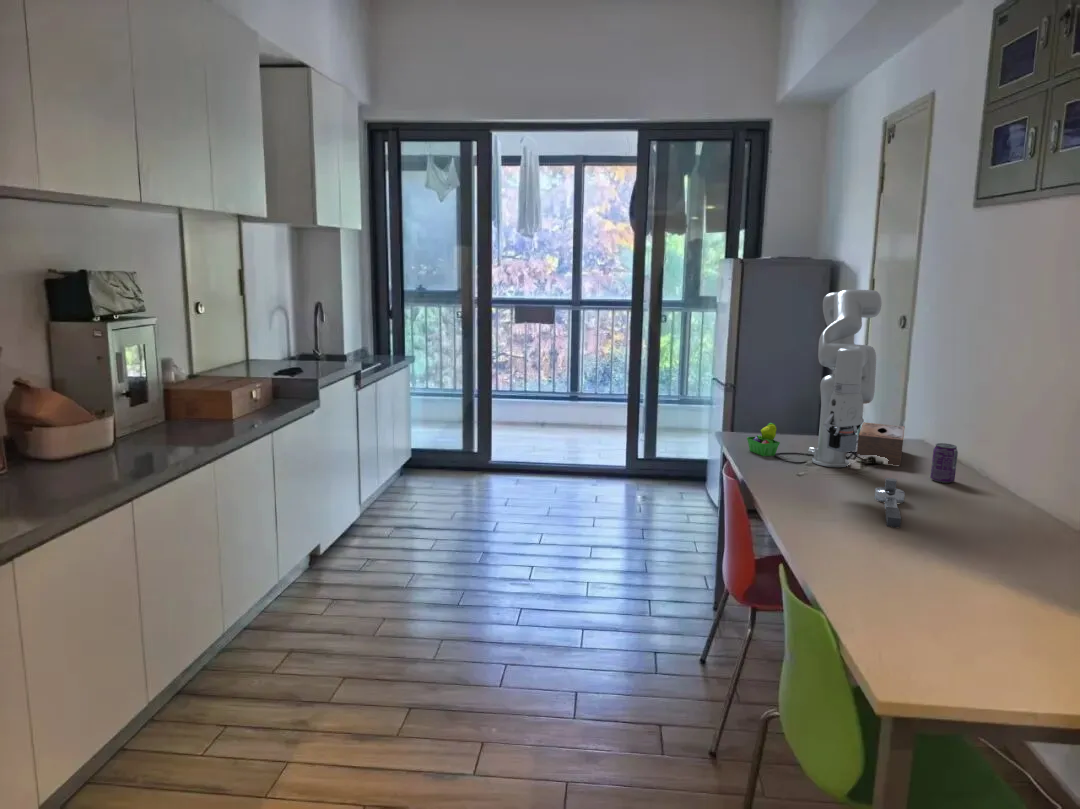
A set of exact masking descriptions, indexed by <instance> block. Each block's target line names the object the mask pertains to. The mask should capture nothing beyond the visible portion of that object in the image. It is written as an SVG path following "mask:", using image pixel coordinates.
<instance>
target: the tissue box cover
mask: <svg viewBox="0 0 1080 809" xmlns="http://www.w3.org/2000/svg"><path fill="white" fill-rule="evenodd" d="M860 427H861V428H860V430H859V433H858V435H857V445H856V455H857V454H860V455H877V456H880V457H885V458H887V459H888V460H889V461H888V464H893V465H900V466H901V463H902V456H903V454H902V453H903V446H904V436H905V425H904V426H903V425H894V424H892V425H891V424H882V423H873V422H863V423H862V424H861V426H860Z"/></svg>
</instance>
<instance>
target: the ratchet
mask: <svg viewBox="0 0 1080 809" xmlns="http://www.w3.org/2000/svg"><path fill="white" fill-rule="evenodd" d="M884 482H885V483H884V486H879V487H875V489H874V498H875V499H876V500H878V501H881V502H885V504H884V510H885V509H886V511H885V514H886V516H885V523H886V522H887V523H886V527H888V526H892V527H891V528H896V527H900V528H901V522H902V515H901V513H900V508H899V507H898V505H897V503H903V502H905V493H906V492H905V491H904V490H902V489H899V488H897V478H891V477H885V481H884ZM875 499H874V500H875ZM876 500H875V501H876ZM878 501H877V502H878ZM881 502H880V503H881ZM903 504H904V503H903Z"/></svg>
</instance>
